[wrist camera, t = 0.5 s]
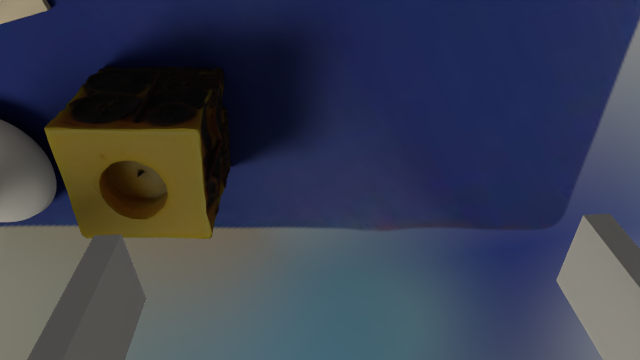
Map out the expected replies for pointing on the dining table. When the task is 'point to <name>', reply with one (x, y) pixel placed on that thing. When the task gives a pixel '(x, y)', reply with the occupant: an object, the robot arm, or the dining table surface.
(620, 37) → the dining table surface
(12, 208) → the flower in vase
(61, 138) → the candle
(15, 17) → the board
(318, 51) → the dining table surface
